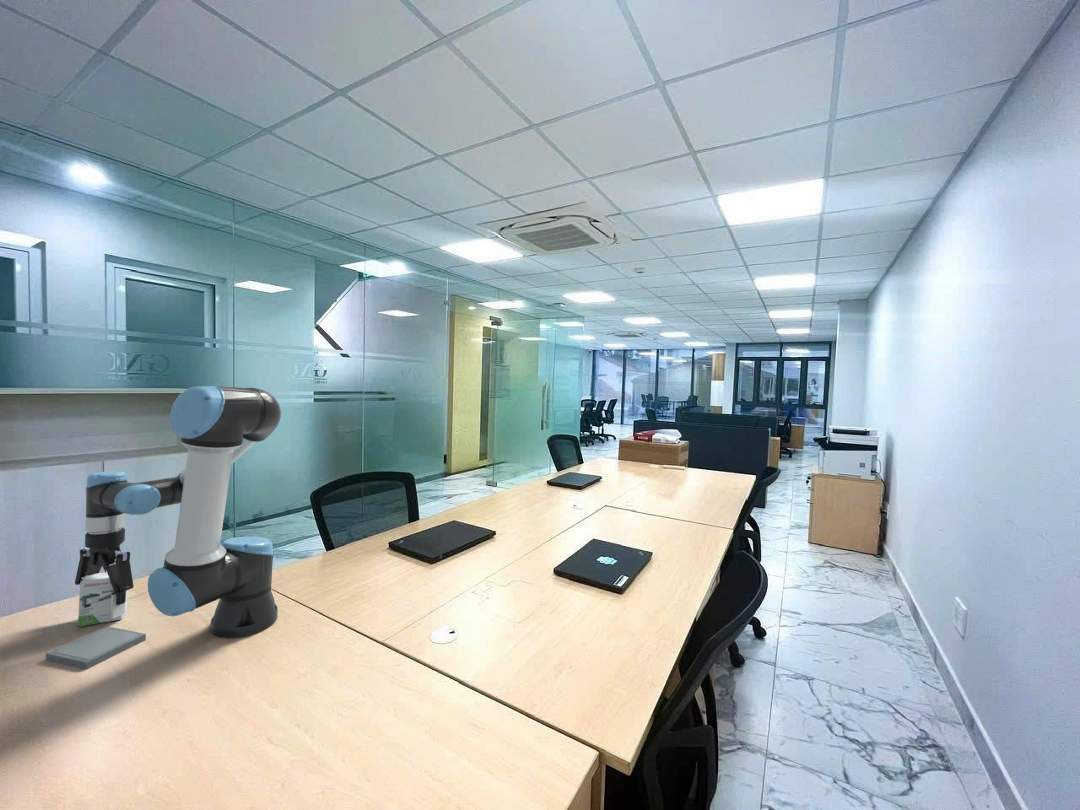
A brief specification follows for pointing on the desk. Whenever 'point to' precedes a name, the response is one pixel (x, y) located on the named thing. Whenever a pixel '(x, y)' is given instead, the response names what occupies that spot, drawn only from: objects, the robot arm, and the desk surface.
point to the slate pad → (95, 647)
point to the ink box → (96, 600)
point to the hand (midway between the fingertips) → (103, 613)
